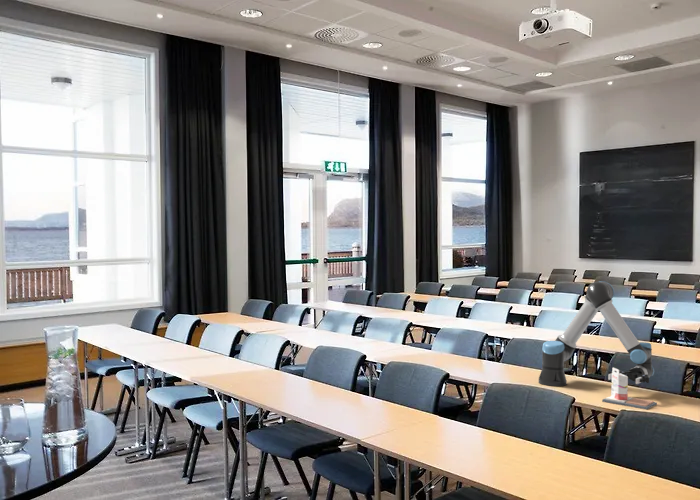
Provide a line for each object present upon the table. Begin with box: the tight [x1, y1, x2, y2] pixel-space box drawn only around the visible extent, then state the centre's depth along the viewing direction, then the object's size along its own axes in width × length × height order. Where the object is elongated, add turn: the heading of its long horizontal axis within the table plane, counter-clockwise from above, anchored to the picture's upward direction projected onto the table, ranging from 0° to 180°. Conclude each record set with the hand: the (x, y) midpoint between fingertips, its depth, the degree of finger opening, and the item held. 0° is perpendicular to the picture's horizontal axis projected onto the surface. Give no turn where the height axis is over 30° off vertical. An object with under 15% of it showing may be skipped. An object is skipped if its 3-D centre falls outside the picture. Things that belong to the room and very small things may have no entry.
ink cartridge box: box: [610, 367, 629, 400], centre depth 311 cm, size 9×5×15 cm, turn 0°
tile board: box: [601, 395, 658, 410], centre depth 308 cm, size 21×15×2 cm
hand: (622, 379), depth 314 cm, fingers open, 13 cm apart
